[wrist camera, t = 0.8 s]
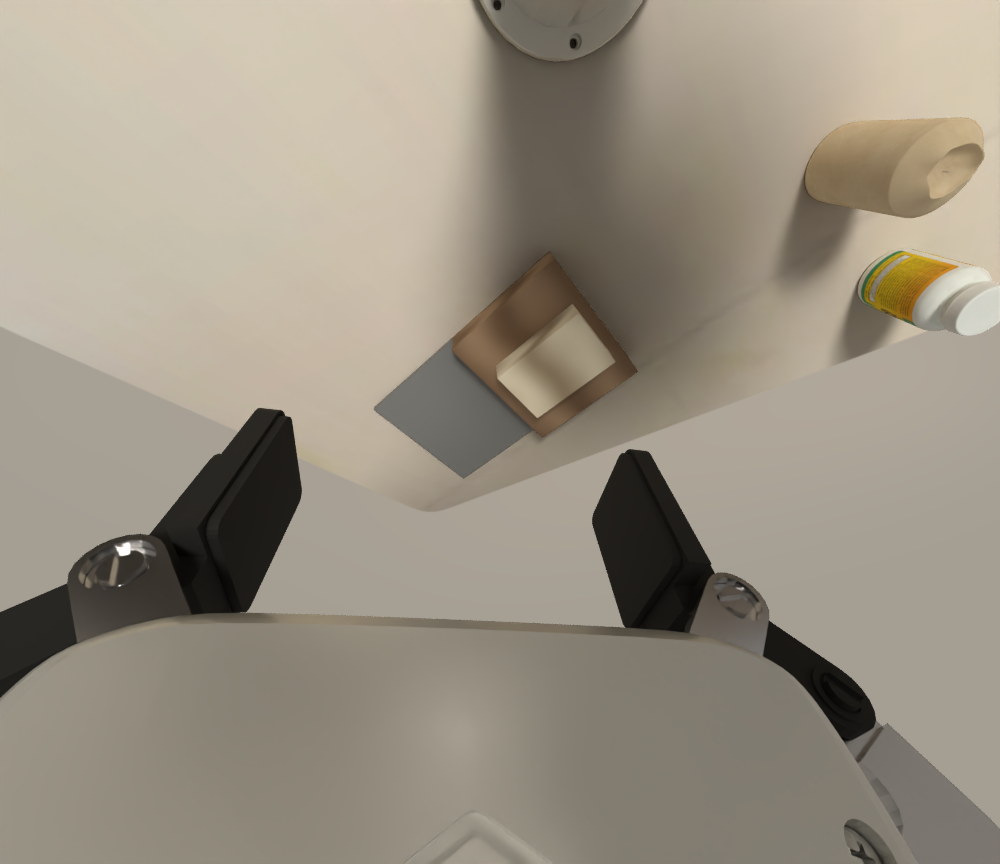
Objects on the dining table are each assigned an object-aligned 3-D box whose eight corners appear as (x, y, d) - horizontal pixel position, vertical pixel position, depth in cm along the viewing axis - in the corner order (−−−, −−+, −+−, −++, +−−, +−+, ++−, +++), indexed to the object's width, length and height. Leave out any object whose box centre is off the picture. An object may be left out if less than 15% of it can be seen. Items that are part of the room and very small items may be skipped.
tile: (572, 303, 36) (578, 313, 34) (608, 350, 39) (615, 361, 37) (495, 365, 39) (497, 378, 37) (534, 404, 42) (537, 418, 40)
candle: (824, 215, 36) (926, 239, 28) (790, 172, 34) (891, 184, 26) (888, 154, 33) (1021, 161, 25) (856, 103, 31) (991, 92, 23)
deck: (549, 251, 36) (554, 260, 34) (628, 358, 43) (638, 371, 40) (452, 337, 40) (451, 350, 38) (538, 422, 47) (542, 437, 45)
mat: (452, 337, 40) (452, 339, 40) (538, 422, 47) (539, 424, 47) (374, 407, 45) (373, 409, 44) (463, 475, 51) (463, 478, 51)
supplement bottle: (927, 244, 38) (1045, 272, 30) (899, 301, 41) (999, 340, 33) (869, 250, 38) (972, 280, 30) (845, 307, 41) (932, 347, 33)
